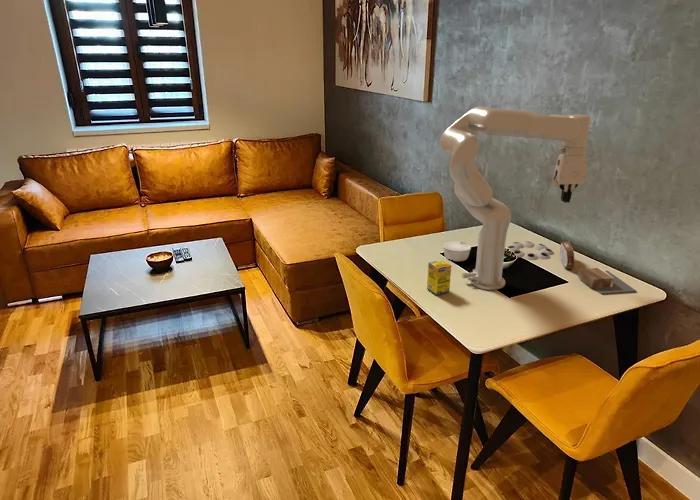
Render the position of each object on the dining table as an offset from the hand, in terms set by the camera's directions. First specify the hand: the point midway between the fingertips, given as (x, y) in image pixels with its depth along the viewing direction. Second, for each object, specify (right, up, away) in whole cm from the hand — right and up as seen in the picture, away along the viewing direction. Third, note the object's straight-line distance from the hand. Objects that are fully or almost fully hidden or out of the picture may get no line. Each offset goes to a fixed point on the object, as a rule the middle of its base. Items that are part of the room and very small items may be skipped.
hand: (565, 201), depth 178 cm
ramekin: (-34, -21, +27) cm, 48 cm away
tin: (+8, -24, +19) cm, 32 cm away
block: (+8, -28, +2) cm, 29 cm away
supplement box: (-46, -33, -1) cm, 57 cm away
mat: (+16, -30, +3) cm, 34 cm away
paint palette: (-1, -19, +33) cm, 38 cm away
